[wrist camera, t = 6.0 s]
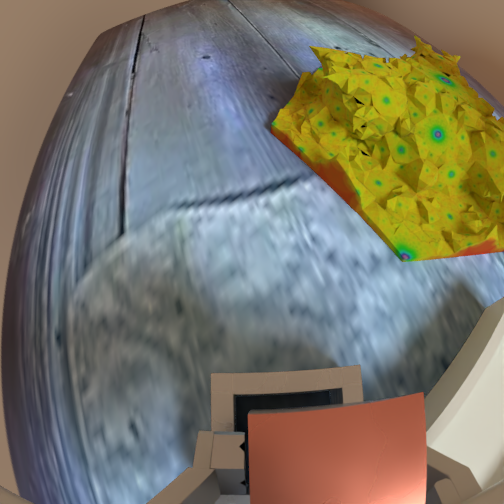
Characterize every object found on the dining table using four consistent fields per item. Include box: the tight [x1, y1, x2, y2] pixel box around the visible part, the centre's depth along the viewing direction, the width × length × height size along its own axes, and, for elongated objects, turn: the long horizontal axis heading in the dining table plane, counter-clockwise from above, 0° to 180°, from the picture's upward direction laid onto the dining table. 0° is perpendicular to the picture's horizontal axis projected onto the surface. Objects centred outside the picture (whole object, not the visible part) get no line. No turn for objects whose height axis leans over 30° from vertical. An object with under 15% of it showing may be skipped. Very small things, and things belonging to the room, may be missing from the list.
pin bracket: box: [211, 365, 363, 504], centre depth 13 cm, size 7×7×2 cm
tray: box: [424, 297, 504, 491], centre depth 11 cm, size 14×12×3 cm
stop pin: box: [248, 392, 427, 504], centre depth 9 cm, size 4×4×11 cm
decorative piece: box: [271, 35, 504, 262], centre depth 22 cm, size 26×8×30 cm
